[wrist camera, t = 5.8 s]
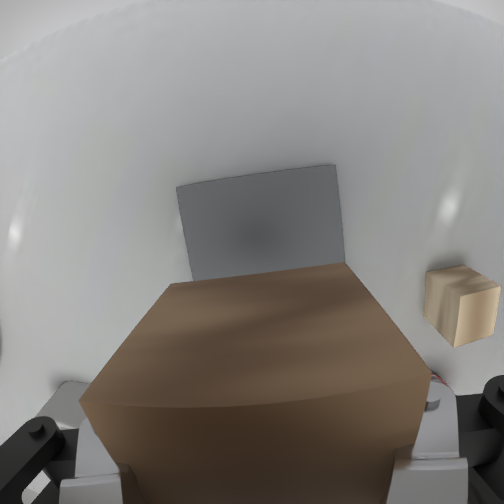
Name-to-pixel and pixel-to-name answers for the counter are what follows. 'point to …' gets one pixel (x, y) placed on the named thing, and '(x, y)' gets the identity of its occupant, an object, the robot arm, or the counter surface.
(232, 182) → the build mat
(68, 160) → the counter surface
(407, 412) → the walnut block
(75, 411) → the lumpy-topped squat cylinder
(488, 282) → the maple block
